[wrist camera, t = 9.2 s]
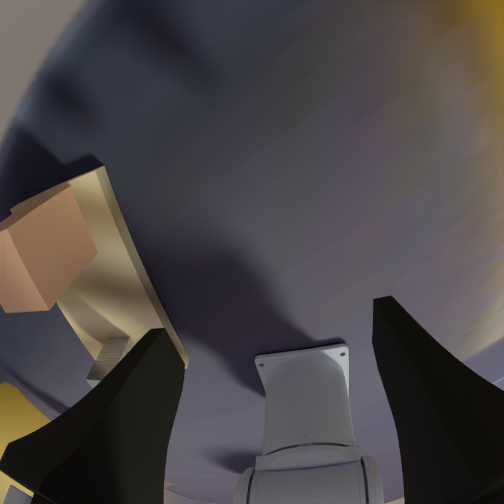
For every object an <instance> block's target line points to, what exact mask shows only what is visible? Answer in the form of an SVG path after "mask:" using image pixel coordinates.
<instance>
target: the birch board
mask: <svg viewBox="0 0 504 504" xmlns="http://www.w3.org/2000/svg"><path fill="white" fill-rule="evenodd" d="M69 186H71V187H72V189H73V192H74V195H75V197H76V200H77V203H78V205H79V208H80V210H81V213H82V215H83V218H84V220H85V223H86V225H87V228H88V230H89V232H90V235H91V237H92V239H93V242H94V244H95V246H96V248H97V251H98V253H97V254H96V255H95V257H94V258H93V259H92V260H91V261H90V262H89V263H88V264H87V266H86V267H85V268H84V269H83V270H82V271H81V272H80V274H79V275H78V276H77V277H76V278H75V279H74V281H73V282H72V283H71V284H70V285H69V287H68V288H67V289H66V290H65V291H64V293H63V294H62V295H61V296H60V297H59V299H58V300H57V301H56V302H57V304H58V306H59V307H60V309H61V310H62V312H63V314H64V315H65V317H66V318H67V320H68V322H69V323H70V325H71V326H72V328H73V329H74V331H75V332H76V334H77V335H78V337H79V338H80V340H81V341H82V342H83V344H84V345H85V347H86V348H87V350H88V351H89V352H90V354H91V355H92V356H93V358H94V359H95V360H96V358H97V357H98V355H99V353H100V351H101V349H102V347H103V345H104V344H105V342H106V340H107V338H115V337H131V338H132V340H133V342H134V343H135V344H136V343H137V342H138V341H139V340H140V339H141V338H142V337H143V336H144V335H145V334H146V333H147V332H148V331H149V330H150V329H154V328H165V329H166V331H167V332H168V334H169V336H170V338H171V340H172V342H173V343H174V345H175V347H176V349H177V351H178V352H179V354H180V356H181V358H182V359H183V361H184V363H185V368H187V366H188V362H189V359H190V358H189V357H188V355H187V353H186V351H185V349H184V347H183V346H182V344H181V342H180V340H179V338H178V336H177V334H176V332H175V330H174V328H173V326H172V325H171V323H170V321H169V319H168V317H167V315H166V313H165V311H164V309H163V307H162V304H161V302H160V300H159V298H158V296H157V294H156V292H155V290H154V288H153V286H152V283H151V281H150V279H149V277H148V275H147V273H146V270H145V268H144V266H143V264H142V261H141V259H140V257H139V254H138V252H137V250H136V248H135V245H134V243H133V240H132V238H131V236H130V233H129V231H128V228H127V226H126V223H125V221H124V218H123V216H122V213H121V211H120V208H119V205H118V203H117V200H116V198H115V195H114V192H113V189H112V187H111V184H110V181H109V178H108V175H107V173H106V170H105V167H104V166H102V167H99V168H97V169H94V170H92V171H89V172H87V173H84V174H82V175H79V176H77V177H75V178H72V179H70V180H68V181H65V182H63V183H61V184H59V185H56V186H54V187H52V188H50V189H48V190H45V191H43V192H41V193H39V194H37V195H35V196H33V197H31V198H29V199H27V200H25V201H23V202H21V203H19V204H17V205H16V206H14V207H13V208H11V209H10V210H11V213H12V214H13V213H15V212H16V211H18V210H19V209H21V208H22V207H24V206H25V205H27V204H29V203H31V202H33V201H36V200H38V199H40V198H42V197H45V196H47V195H49V194H52V193H54V192H56V191H59V190H61V189H64V188H66V187H69Z"/></svg>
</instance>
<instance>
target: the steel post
mask: <svg viewBox="0 0 504 504" xmlns="http://www.w3.org/2000/svg"><path fill="white" fill-rule="evenodd" d="M134 345H135V343H134V342H133V340H132V338H131V337H115V338H107V340H106V342H105V344H104V345H103V347H102V349H101V351H100V353H99V355H98V357H97V358H96V360H95V362H94V364H93V366H92V368H91V370H90V372H89V374H88V376H87V378H86V381H87V382H88V383H89V384H90V385H91V386H92V388H94V387H95V386H96V385H97V384H98V383H99V382H100V381H101V380H102V379H103V378H104V377H105V376H106V375H107V374H108V373H109V372H110V371H111V370H112V369H113V368H114V367H115V366H116V365H117V364H118V363H119V362H120V361H121V359H122V358H123V357H124V356H125V355H126V354H127V353H128V352H129V351H130V350H131V349H132V348H133V346H134Z"/></svg>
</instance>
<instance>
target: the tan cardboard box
mask: <svg viewBox="0 0 504 504" xmlns="http://www.w3.org/2000/svg"><path fill="white" fill-rule="evenodd" d="M97 253H98V251H97V248H96V246H95V244H94V242H93V239H92V237H91V235H90V232H89V230H88V228H87V225H86V223H85V220H84V218H83V215H82V213H81V210H80V208H79V205H78V203H77V200H76V197H75V195H74V192H73V189H72V187H71V186H69V187H66V188H64V189H61V190H59V191H56V192H54V193H52V194H49V195H47V196H45V197H42V198H40V199H38V200H36V201H33V202H31V203H29V204H27V205H25V206H24V207H22V208H21V209H19V210H18V211H16V212H15V213H13V214H12V215H10V216H9V217H8V218H6V219H5V220H3V221H2V222H0V304H1V306H2V307H3V309H4V311H5V312H6V313H13V312H29V311H44V310H50V309H51V307H52V306H53V305H54V304H55V302H56V301H57V300H58V299H59V297H60V296H61V295H62V294H63V293H64V291H65V290H66V289H67V288H68V287H69V285H70V284H71V283H72V282H73V281H74V279H75V278H76V277H77V276H78V275H79V274H80V272H81V271H82V270H83V269H84V268H85V267H86V266H87V264H88V263H89V262H90V261H91V260H92V259H93V258H94V257H95V255H96V254H97Z"/></svg>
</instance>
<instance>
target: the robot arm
mask: <svg viewBox="0 0 504 504" xmlns="http://www.w3.org/2000/svg"><path fill="white" fill-rule="evenodd" d="M372 344H373V348H374V353H375V358H376V362H377V367H378V370H379V374H380V377H381V380H382V383H383V386H384V389H385V392H386V395H387V398H388V402H389V405H390V408H391V411H392V415H393V418H394V421H395V425H396V430H397V435H398V441H399V448H400V454H401V463H402V472H403V483H404V498H405V504H504V391H503V390H501V389H500V388H498V387H497V386H495V385H493V384H492V383H490V382H488V381H487V380H485V379H484V378H482V377H481V376H479V375H478V374H476V373H475V372H474V371H472V370H471V369H470V368H468V367H467V366H466V365H464V364H463V363H462V362H460V361H459V360H458V359H457V358H455V357H454V356H453V355H452V354H451V353H450V352H448V351H447V350H446V349H445V348H444V347H443V346H442V345H440V344H439V343H438V342H437V341H436V340H435V339H434V338H433V337H432V336H431V335H430V334H429V333H428V332H427V331H426V330H425V329H423V328H422V327H421V326H420V325H419V324H418V323H417V322H416V321H415V320H414V319H413V317H412V316H411V315H410V314H409V313H408V312H407V311H406V310H405V309H404V308H403V307H402V306H401V305H400V304H399V303H398V302H397V301H396V300H395V299H394V298H393V297H392V296H387V297H382V298H376V299H373V334H372ZM342 352H343V353H342ZM255 364H256V367H257V370H258V373H259V375H260V378H261V381H262V384H263V386H264V389H265V392H266V400H265V419H264V437H263V453H262V456H257V457H256V465H255V467H250V468H248V469H246V470H245V472H244V473H243V474H242V475H241V476H240V477H239V479H238V481H237V484H236V488H235V494H234V504H383V486H382V479H381V474H380V470H379V466H378V464H377V462H376V461H375V460H373V459H372V458H371V457H370V456H368V455H366V456H361V458H360V451H359V446H355V440H354V432H353V425H352V418H351V411H350V405H349V358H348V346H347V344H336V345H330V346H324V347H318V348H311V349H304V350H297V351H290V352H282V353H274V354H265V355H258V356H256V357H255ZM184 373H185V363H184V361H183V359H182V358H181V356H180V354H179V352H178V351H177V349H176V347H175V345H174V343H173V342H172V340H171V338H170V336H169V334H168V332H167V331H166V329H165V328H154V329H150V330H149V331H148V332H147V333H146V334H145V335H144V336H143V337H142V338H141V339H140V340H139V341H138V342H137V343H136V344H135V345H134V346H133V348H132V349H131V350H130V351H129V352H128V353H127V354H126V355H125V356H124V357H123V358H122V359H121V361H120V362H119V363H118V364H117V365H116V366H115V367H114V368H113V369H112V370H111V371H110V372H109V373H108V374H107V375H106V376H105V377H104V378H103V379H102V380H101V381H100V382H99V383H98V384H97V385H96V386H95V387H94V388H93V389H92V390H91V391H90V392H89V393H88V394H87V395H86V396H84V397H83V398H82V399H81V400H80V401H78V402H77V403H76V404H75V405H74V406H72V407H71V408H70V409H68V410H67V411H66V412H64V413H63V414H61V415H60V416H59V417H57V418H56V419H54V420H53V421H51V422H50V423H48V424H46V425H45V426H43V427H41V428H40V429H38V430H36V431H34V432H32V433H31V434H28V435H26V436H24V437H22V438H20V439H17V440H15V441H13V442H10V443H9V444H8V445H7V447H6V449H5V452H4V453H3V456H2V458H1V460H0V470H1V471H2V472H3V473H5V474H6V475H8V476H9V477H10V478H12V479H13V480H15V481H16V482H18V483H20V484H21V485H23V486H24V487H26V488H27V489H29V490H30V491H32V492H34V495H33V497H31V496H29V495H27V494H26V493H24V492H23V491H21V490H19V489H18V488H16V487H14V486H13V485H10V487H9V490H8V492H7V495H6V498H5V500H4V503H3V504H163V501H164V499H163V497H164V476H165V465H166V457H167V449H168V443H169V439H170V435H171V431H172V427H173V423H174V419H175V416H176V412H177V408H178V404H179V400H180V397H181V393H182V388H183V381H184Z"/></svg>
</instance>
